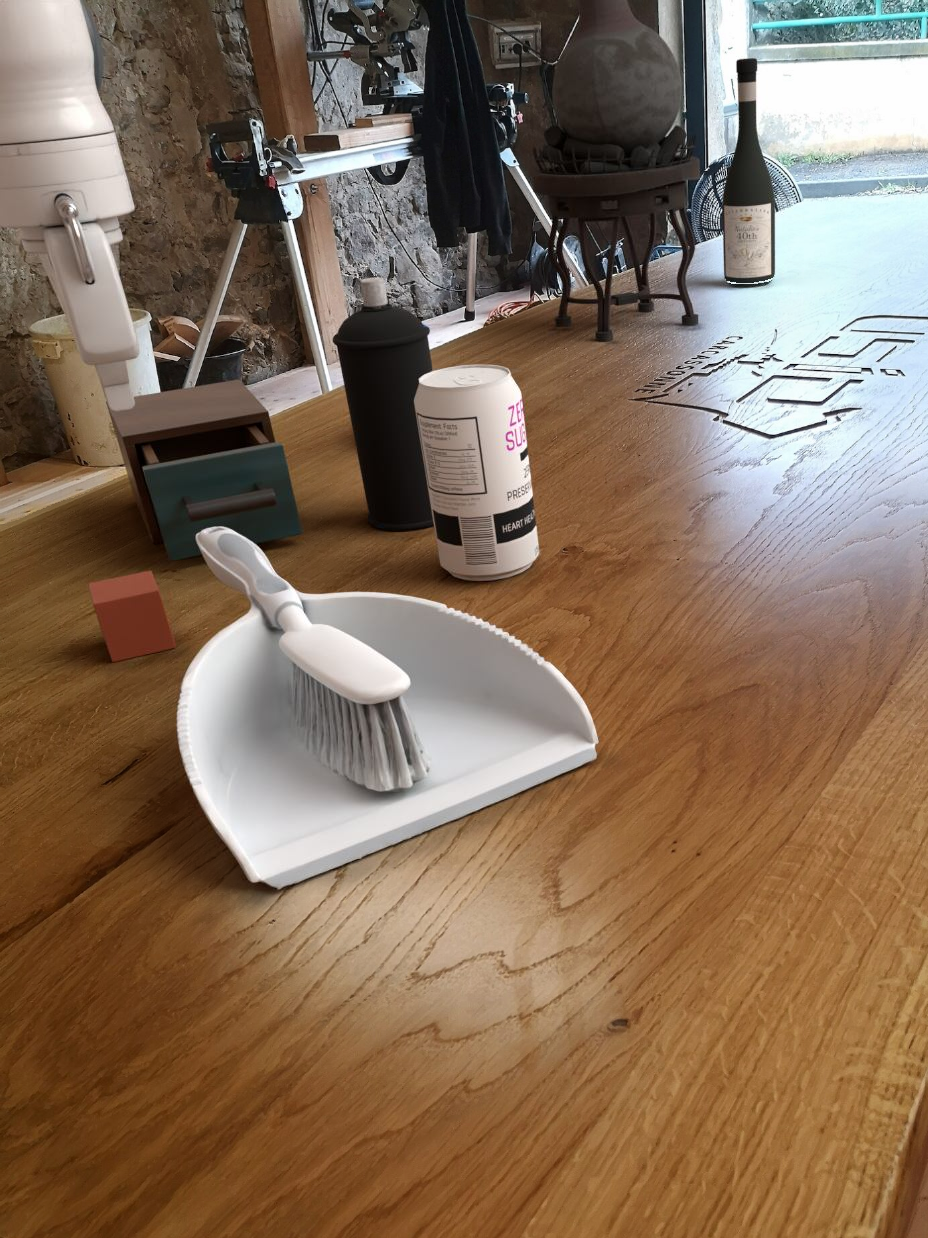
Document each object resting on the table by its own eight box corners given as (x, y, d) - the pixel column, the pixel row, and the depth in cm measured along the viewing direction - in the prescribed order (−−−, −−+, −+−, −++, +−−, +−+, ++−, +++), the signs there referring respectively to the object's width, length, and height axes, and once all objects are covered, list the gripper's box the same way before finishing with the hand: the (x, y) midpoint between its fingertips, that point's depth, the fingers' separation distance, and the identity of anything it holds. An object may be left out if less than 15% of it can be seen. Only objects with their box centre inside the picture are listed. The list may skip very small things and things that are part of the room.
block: (112, 662, 91) (92, 603, 89) (106, 640, 95) (87, 583, 92) (176, 648, 93) (159, 589, 90) (168, 626, 96) (151, 569, 94)
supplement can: (431, 558, 105) (400, 372, 96) (524, 540, 107) (502, 357, 98) (453, 591, 98) (422, 395, 90) (552, 571, 100) (531, 378, 92)
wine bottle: (772, 287, 193) (771, 58, 176) (721, 288, 194) (715, 61, 177) (776, 277, 199) (776, 55, 182) (727, 278, 201) (722, 58, 184)
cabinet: (292, 516, 116) (268, 411, 111) (153, 544, 112) (121, 436, 107) (262, 476, 127) (239, 379, 122) (135, 500, 123) (105, 401, 118)
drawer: (315, 550, 106) (294, 457, 101) (177, 579, 102) (150, 485, 98) (272, 493, 119) (253, 410, 115) (150, 517, 116) (125, 432, 111)
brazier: (723, 329, 170) (713, -82, 145) (562, 349, 166) (522, -69, 141) (682, 301, 188) (666, -68, 163) (536, 318, 185) (496, -57, 159)
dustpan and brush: (254, 904, 65) (207, 745, 59) (79, 692, 87) (33, 563, 82) (616, 754, 75) (604, 608, 70) (376, 600, 98) (352, 480, 93)
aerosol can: (419, 536, 109) (377, 290, 98) (348, 525, 113) (300, 287, 102) (475, 506, 115) (441, 271, 104) (405, 496, 119) (366, 268, 108)
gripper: (122, 196, 74) (185, 431, 82) (96, 172, 90) (151, 371, 98) (10, 209, 72) (85, 448, 80) (3, 182, 88) (67, 385, 96)
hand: (121, 406), depth 89 cm, fingers closed
